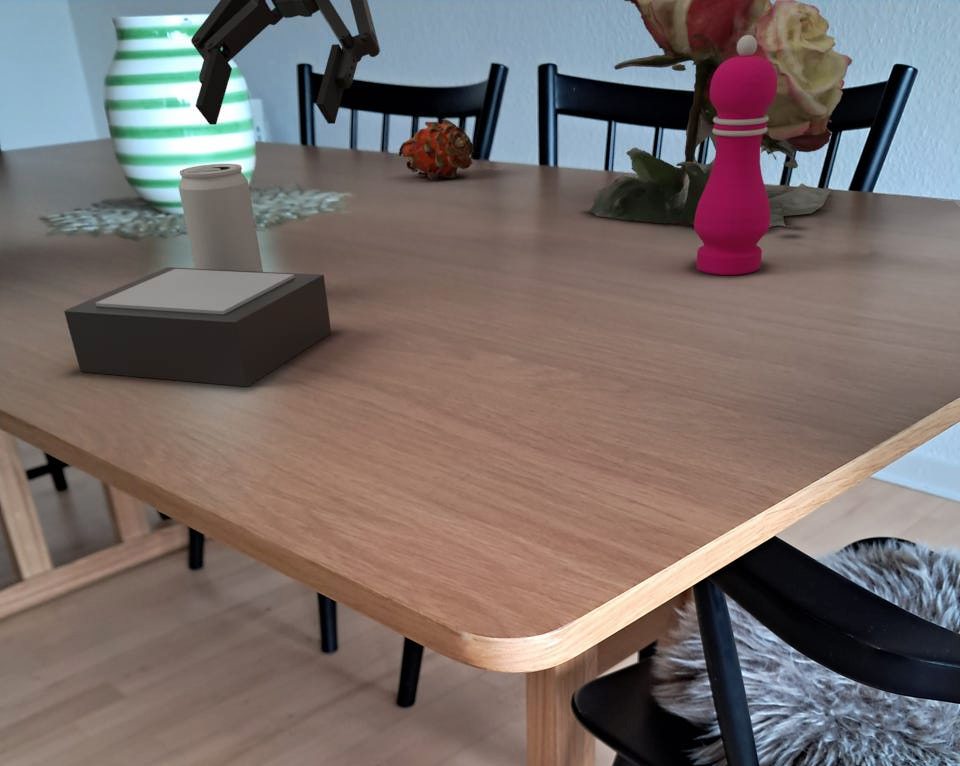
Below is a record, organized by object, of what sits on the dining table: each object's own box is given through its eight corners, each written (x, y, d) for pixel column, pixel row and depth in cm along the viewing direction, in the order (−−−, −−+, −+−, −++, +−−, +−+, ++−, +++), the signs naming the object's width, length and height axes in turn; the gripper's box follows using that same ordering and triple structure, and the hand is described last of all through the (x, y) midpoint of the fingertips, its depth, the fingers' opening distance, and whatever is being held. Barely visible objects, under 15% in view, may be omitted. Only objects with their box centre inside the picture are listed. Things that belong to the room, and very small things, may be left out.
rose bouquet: (797, 238, 110) (838, -104, 93) (571, 216, 125) (571, -81, 108) (879, 196, 126) (926, -101, 110) (671, 181, 141) (684, -81, 125)
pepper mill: (727, 280, 97) (748, 38, 86) (676, 267, 102) (689, 37, 91) (780, 267, 100) (807, 32, 89) (728, 255, 105) (747, 31, 94)
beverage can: (279, 297, 100) (259, 164, 93) (224, 312, 96) (198, 175, 89) (244, 287, 103) (221, 159, 97) (189, 301, 100) (162, 169, 93)
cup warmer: (68, 370, 83) (50, 305, 80) (168, 322, 94) (155, 263, 91) (247, 386, 78) (235, 317, 75) (331, 333, 89) (323, 270, 86)
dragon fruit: (479, 190, 151) (407, 201, 156) (488, 146, 154) (417, 159, 159) (458, 145, 144) (384, 158, 149) (468, 100, 147) (394, 115, 151)
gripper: (440, -46, 102) (392, 140, 99) (229, -32, 110) (179, 140, 107) (414, -114, 95) (363, 84, 92) (191, -94, 103) (136, 89, 100)
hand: (264, 115), depth 99 cm, fingers open, 13 cm apart
